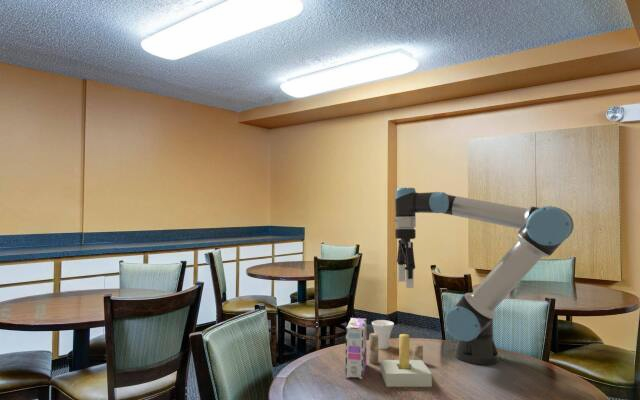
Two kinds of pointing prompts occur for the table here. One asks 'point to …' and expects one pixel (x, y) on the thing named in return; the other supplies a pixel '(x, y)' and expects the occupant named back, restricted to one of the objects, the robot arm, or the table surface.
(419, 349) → the pin short
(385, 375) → the socket block
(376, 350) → the pin medium
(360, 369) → the candy box
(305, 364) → the table surface
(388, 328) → the cup
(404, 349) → the pin long
